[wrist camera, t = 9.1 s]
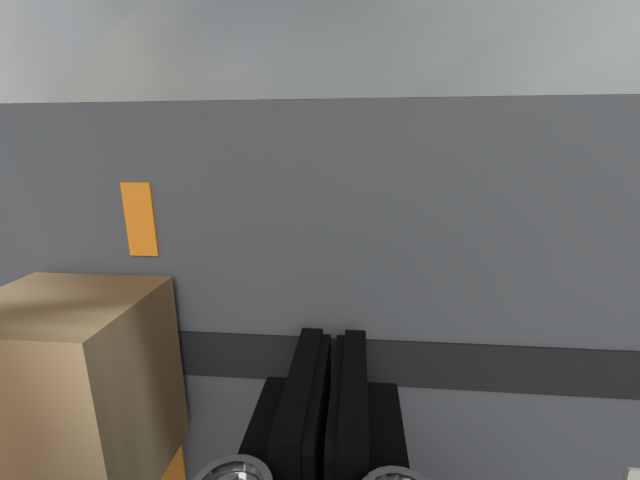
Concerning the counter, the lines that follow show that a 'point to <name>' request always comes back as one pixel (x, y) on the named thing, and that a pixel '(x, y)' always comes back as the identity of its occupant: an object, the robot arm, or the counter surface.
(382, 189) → the board
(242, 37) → the counter surface
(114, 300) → the block
